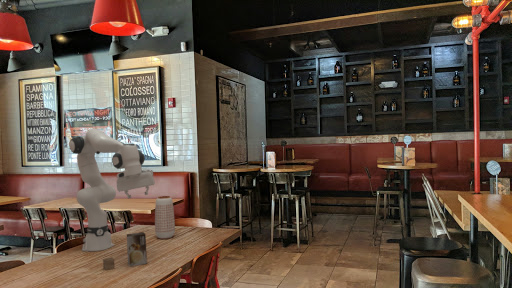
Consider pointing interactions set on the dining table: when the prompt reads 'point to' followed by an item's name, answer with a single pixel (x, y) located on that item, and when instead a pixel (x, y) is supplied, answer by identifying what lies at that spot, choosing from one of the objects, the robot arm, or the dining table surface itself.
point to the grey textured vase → (164, 217)
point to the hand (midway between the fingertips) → (138, 196)
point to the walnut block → (108, 263)
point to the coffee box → (136, 249)
